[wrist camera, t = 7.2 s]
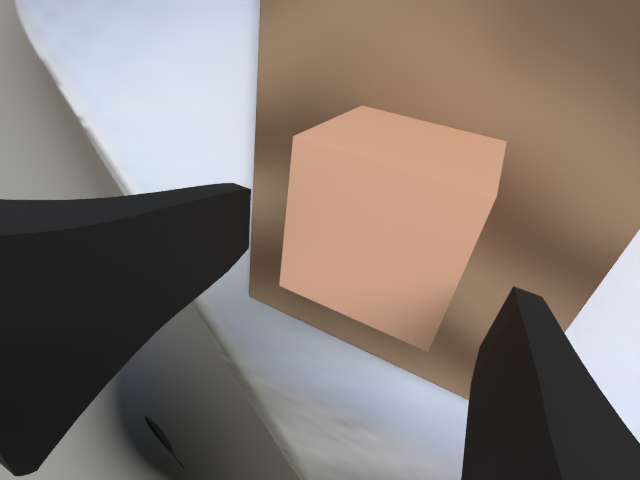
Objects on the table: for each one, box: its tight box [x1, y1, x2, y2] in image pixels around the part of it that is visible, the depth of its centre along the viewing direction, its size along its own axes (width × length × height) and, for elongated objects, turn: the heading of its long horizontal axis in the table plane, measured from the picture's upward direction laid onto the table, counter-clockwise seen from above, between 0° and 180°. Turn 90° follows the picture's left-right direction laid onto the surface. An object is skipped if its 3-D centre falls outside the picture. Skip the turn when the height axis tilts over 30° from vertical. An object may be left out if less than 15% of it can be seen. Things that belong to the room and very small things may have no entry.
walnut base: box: [249, 0, 640, 400], centre depth 14 cm, size 18×14×2 cm
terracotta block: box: [279, 106, 507, 352], centre depth 12 cm, size 5×5×5 cm
